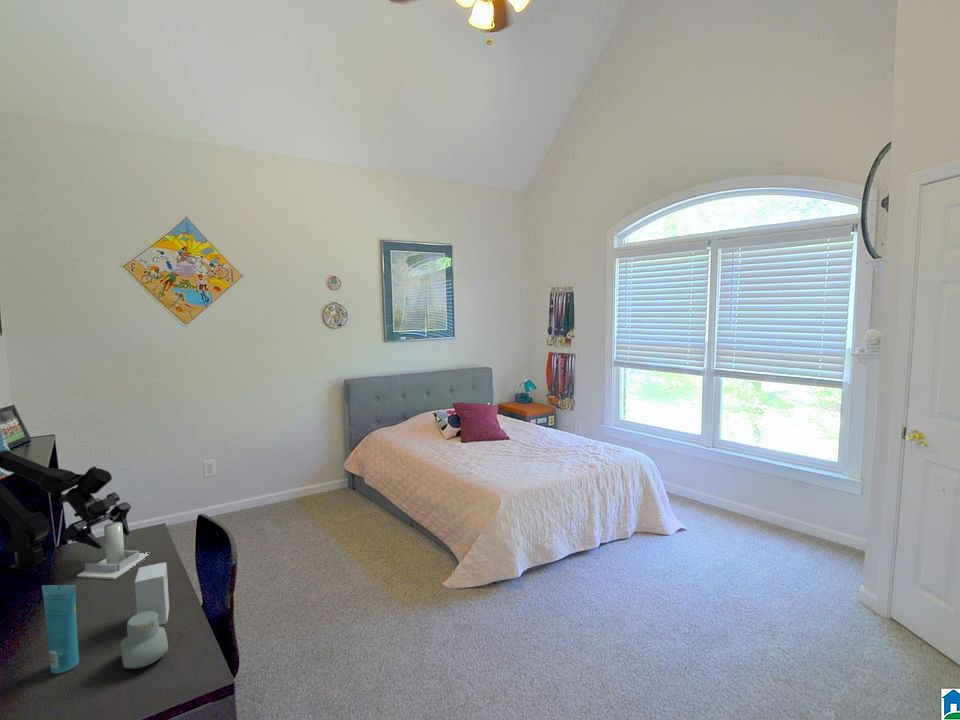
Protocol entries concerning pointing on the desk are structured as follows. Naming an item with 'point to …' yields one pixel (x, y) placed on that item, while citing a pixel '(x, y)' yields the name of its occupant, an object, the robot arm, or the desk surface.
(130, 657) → the air freshener
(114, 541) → the domed peg
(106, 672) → the desk surface
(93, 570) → the white railed tray
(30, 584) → the desk surface
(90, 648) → the desk surface
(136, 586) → the small box
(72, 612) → the tube
